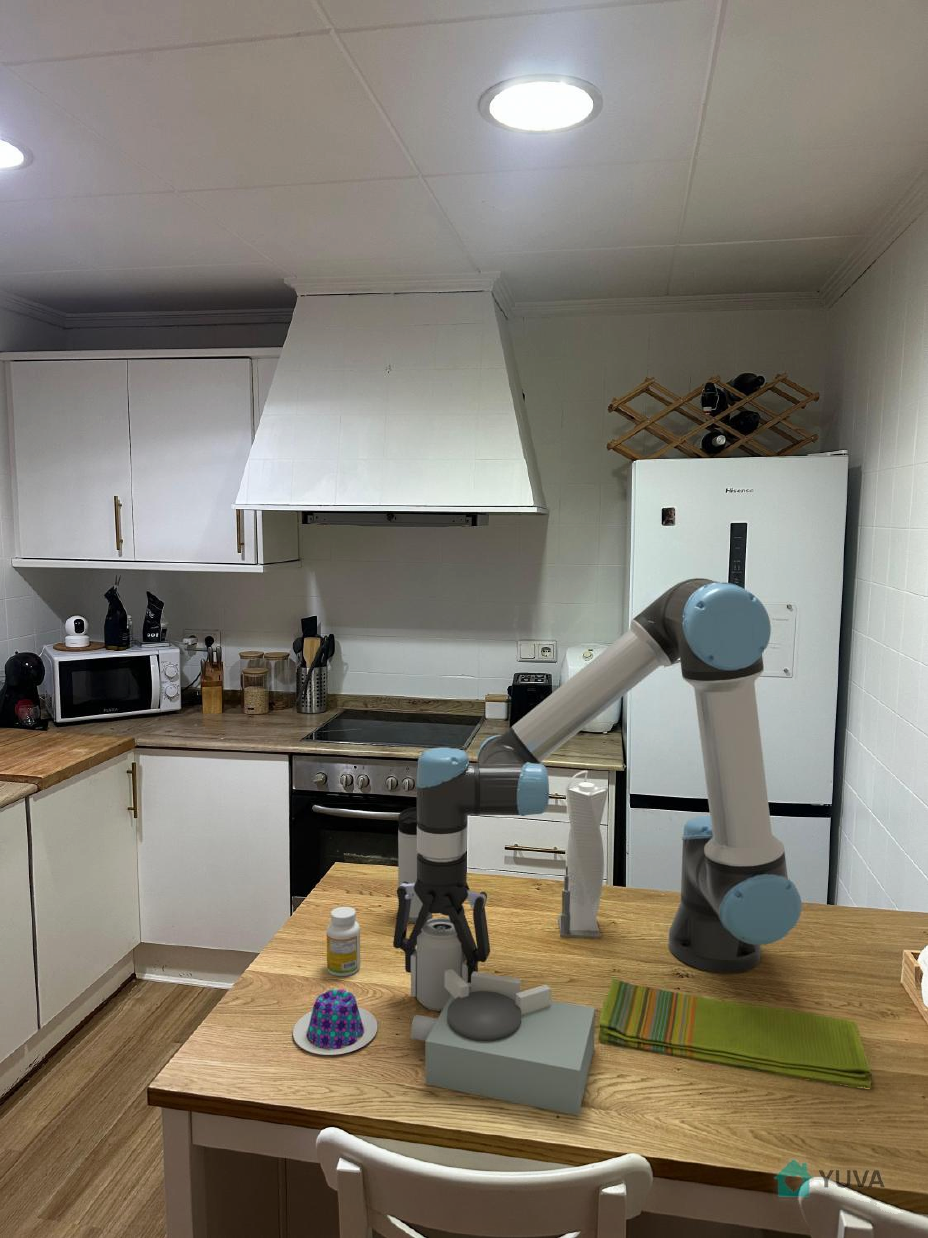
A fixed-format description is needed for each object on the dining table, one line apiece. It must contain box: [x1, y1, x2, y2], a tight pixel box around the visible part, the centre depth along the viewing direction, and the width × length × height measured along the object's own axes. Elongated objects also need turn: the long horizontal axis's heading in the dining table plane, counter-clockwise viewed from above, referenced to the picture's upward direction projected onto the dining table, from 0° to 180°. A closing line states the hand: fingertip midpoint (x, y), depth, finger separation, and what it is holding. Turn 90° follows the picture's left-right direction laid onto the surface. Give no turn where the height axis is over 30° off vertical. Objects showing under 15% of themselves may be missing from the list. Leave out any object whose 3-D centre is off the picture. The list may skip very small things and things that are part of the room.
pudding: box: [292, 989, 378, 1056], centre depth 121 cm, size 12×12×5 cm
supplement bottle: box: [326, 906, 361, 977], centre depth 137 cm, size 5×5×10 cm
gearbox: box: [410, 969, 596, 1117], centre depth 114 cm, size 24×14×8 cm, turn 74°
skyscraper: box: [557, 769, 609, 939], centre depth 151 cm, size 8×8×28 cm
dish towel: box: [598, 978, 873, 1089], centre depth 121 cm, size 15×36×3 cm, turn 74°
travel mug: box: [397, 806, 433, 924], centre depth 155 cm, size 6×7×20 cm
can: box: [416, 917, 466, 1012], centre depth 128 cm, size 8×8×12 cm
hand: (441, 996), depth 129 cm, fingers closed on can, 7 cm apart
